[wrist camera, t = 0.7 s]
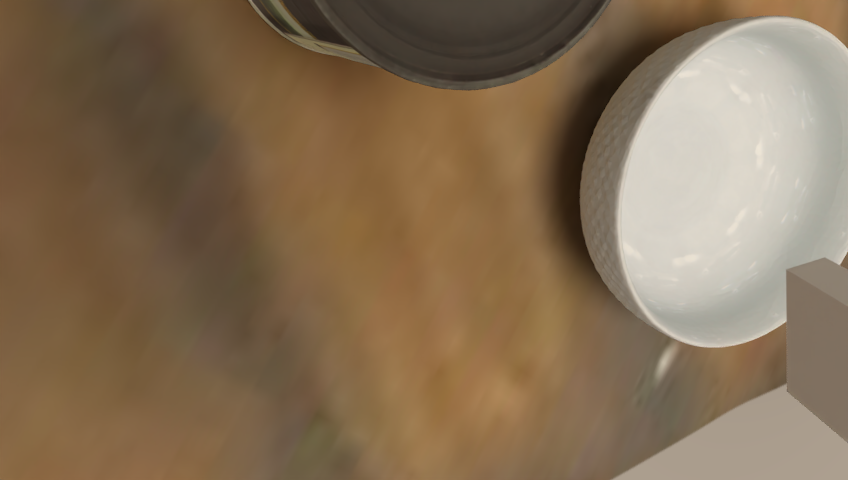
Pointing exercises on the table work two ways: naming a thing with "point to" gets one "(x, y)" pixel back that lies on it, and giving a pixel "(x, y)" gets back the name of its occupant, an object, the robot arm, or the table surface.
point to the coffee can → (438, 35)
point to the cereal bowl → (720, 177)
